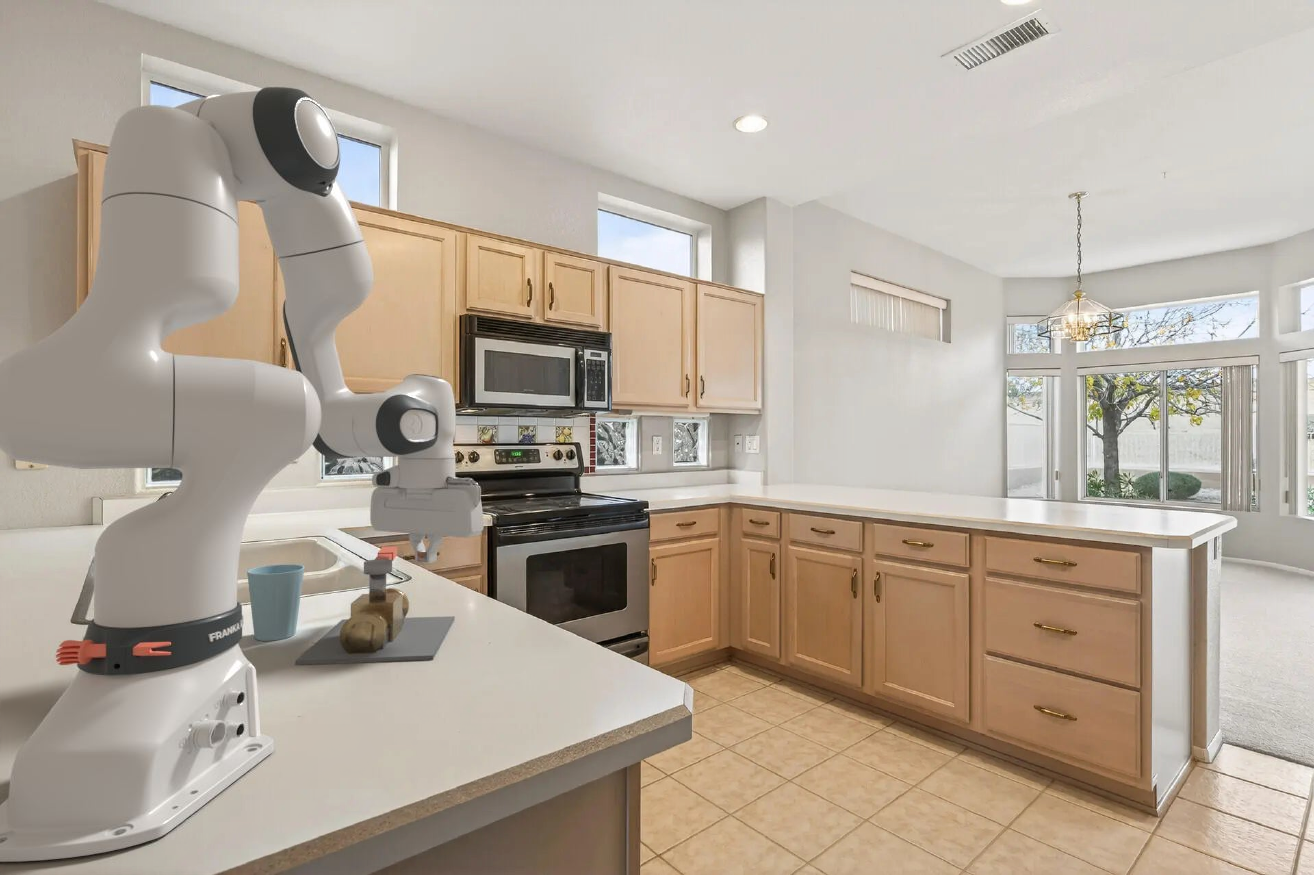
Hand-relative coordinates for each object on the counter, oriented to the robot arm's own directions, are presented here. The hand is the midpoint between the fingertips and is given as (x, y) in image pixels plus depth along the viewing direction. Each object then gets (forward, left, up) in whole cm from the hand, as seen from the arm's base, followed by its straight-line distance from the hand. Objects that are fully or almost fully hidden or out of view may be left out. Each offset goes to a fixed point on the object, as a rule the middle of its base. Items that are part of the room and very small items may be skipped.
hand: (425, 561), depth 106 cm
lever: (+1, +7, -1) cm, 7 cm away
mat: (-5, +5, -11) cm, 13 cm away
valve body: (-5, +6, -11) cm, 13 cm away
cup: (-1, +22, -11) cm, 25 cm away
